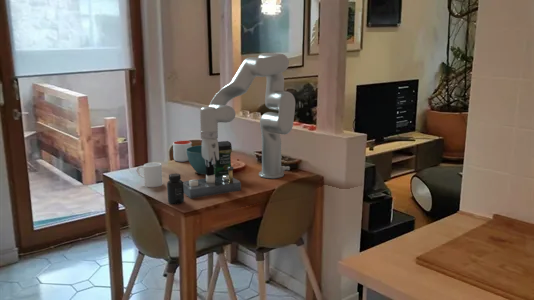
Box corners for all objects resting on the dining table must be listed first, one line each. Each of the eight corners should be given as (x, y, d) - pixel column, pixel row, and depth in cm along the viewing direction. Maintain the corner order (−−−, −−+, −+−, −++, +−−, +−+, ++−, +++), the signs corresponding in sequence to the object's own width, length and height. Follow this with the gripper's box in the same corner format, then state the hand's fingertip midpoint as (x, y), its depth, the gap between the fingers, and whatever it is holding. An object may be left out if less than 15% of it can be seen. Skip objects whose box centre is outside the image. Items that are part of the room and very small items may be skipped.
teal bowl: (180, 171, 268) (179, 148, 265) (209, 165, 279) (208, 143, 277) (200, 179, 254) (199, 154, 252) (230, 172, 266) (229, 149, 263)
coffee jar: (215, 182, 250) (215, 144, 246) (210, 177, 257) (209, 140, 253) (234, 179, 254) (234, 142, 250) (228, 175, 261) (227, 139, 257)
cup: (195, 159, 293) (195, 141, 290) (183, 163, 284) (183, 145, 282) (181, 157, 298) (181, 139, 295) (169, 160, 290) (169, 143, 287)
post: (232, 181, 238) (231, 166, 236) (234, 182, 235) (234, 167, 234) (227, 181, 236) (226, 166, 235) (229, 183, 234) (229, 168, 233)
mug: (140, 181, 251) (139, 161, 248) (164, 182, 249) (163, 162, 247) (134, 186, 243) (132, 166, 241) (159, 187, 241) (157, 167, 239)
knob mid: (213, 184, 239) (212, 173, 238) (216, 186, 236) (216, 175, 235) (204, 185, 237) (204, 174, 236) (208, 187, 234) (207, 176, 233)
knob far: (196, 189, 236) (196, 178, 235) (199, 192, 232) (199, 181, 231) (188, 191, 234) (187, 180, 233) (191, 193, 231) (190, 182, 229)
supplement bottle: (185, 199, 225) (184, 172, 222) (183, 204, 218) (182, 177, 216) (169, 199, 225) (167, 172, 222) (166, 204, 218) (165, 177, 215)
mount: (229, 183, 248) (229, 171, 247) (241, 190, 237) (240, 178, 236) (180, 190, 237) (180, 178, 236) (190, 198, 226) (190, 185, 225)
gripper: (223, 137, 226) (224, 178, 230) (210, 131, 239) (211, 170, 243) (207, 138, 223) (208, 180, 227) (195, 132, 236) (196, 171, 240)
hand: (209, 174), depth 235 cm, fingers closed
